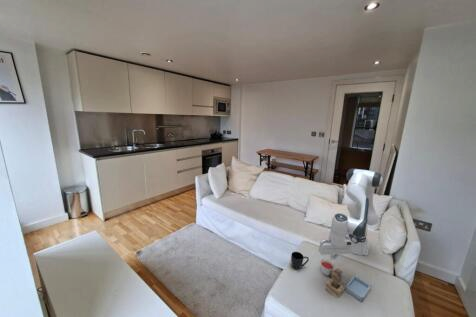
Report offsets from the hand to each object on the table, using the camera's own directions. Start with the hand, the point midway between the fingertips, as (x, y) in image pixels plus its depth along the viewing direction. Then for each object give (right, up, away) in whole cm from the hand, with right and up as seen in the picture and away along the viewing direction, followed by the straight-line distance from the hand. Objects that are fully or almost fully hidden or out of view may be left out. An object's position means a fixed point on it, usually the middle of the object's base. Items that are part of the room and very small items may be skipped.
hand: (333, 258), depth 123 cm
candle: (+2, -17, +15) cm, 23 cm away
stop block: (+7, -18, +10) cm, 22 cm away
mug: (-16, -16, +19) cm, 29 cm away
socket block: (+1, -20, +1) cm, 20 cm away
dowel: (+1, -20, +1) cm, 20 cm away
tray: (+16, -21, +1) cm, 26 cm away
